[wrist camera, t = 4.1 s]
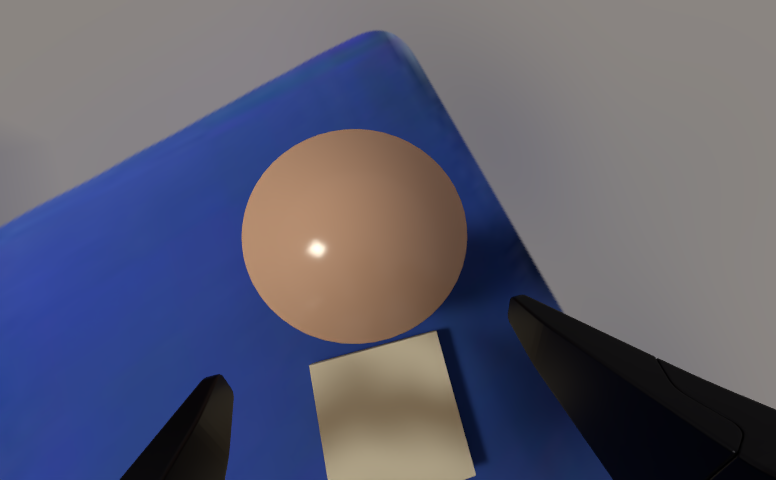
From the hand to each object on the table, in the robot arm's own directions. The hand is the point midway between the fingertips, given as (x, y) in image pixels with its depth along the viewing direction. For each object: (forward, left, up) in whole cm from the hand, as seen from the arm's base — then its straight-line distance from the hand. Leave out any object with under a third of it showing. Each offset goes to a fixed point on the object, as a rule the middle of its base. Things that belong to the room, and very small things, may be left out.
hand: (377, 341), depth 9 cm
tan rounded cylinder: (+2, -2, -10) cm, 11 cm away
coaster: (-4, +3, -10) cm, 11 cm away
